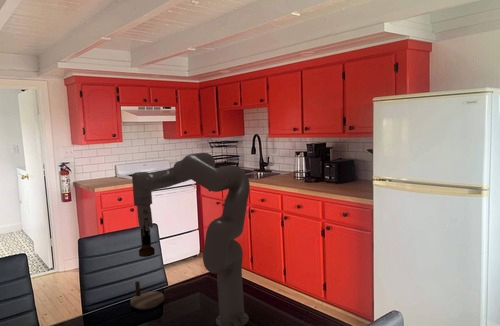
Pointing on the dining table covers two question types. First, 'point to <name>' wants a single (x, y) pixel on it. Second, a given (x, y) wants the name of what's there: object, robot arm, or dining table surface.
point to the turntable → (146, 298)
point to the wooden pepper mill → (146, 248)
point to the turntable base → (147, 308)
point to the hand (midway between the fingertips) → (146, 242)
